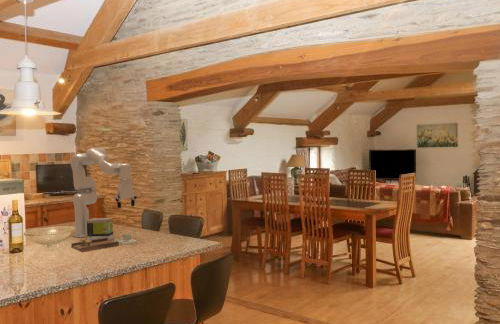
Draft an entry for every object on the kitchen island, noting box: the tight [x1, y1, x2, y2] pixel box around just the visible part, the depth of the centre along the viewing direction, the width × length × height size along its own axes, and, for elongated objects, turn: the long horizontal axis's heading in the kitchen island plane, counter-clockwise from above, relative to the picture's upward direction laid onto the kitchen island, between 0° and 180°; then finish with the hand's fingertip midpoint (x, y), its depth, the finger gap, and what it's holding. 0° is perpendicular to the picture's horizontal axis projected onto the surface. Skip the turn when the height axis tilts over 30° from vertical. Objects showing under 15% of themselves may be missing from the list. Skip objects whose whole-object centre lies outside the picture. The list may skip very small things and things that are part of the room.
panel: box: [113, 233, 138, 246], centre depth 309 cm, size 14×10×5 cm
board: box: [70, 237, 120, 253], centre depth 297 cm, size 18×24×5 cm
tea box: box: [86, 217, 114, 241], centre depth 317 cm, size 15×10×15 cm
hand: (126, 207), depth 309 cm, fingers open, 9 cm apart
